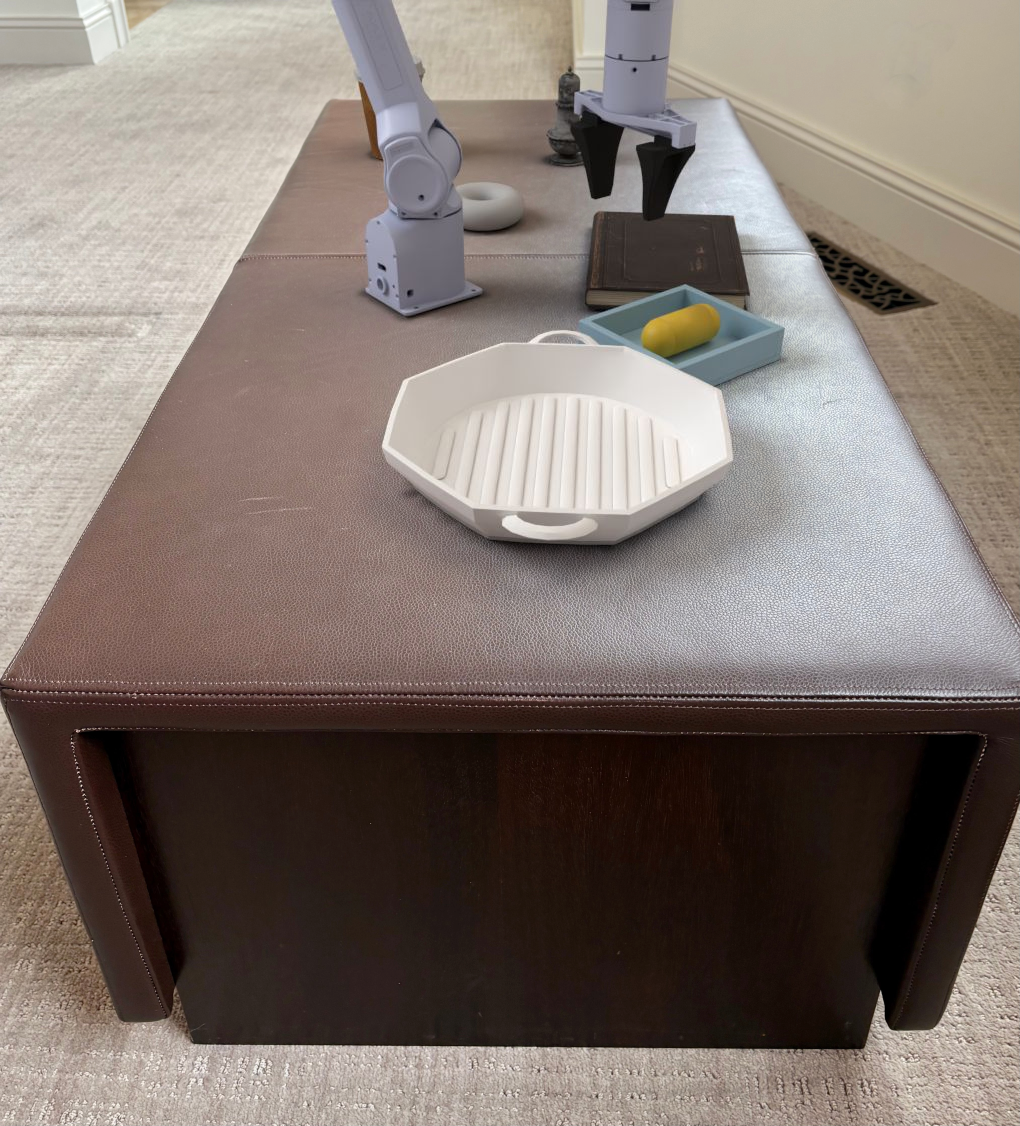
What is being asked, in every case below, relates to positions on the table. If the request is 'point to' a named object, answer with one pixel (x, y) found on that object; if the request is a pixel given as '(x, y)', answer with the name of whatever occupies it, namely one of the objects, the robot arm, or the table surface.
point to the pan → (559, 440)
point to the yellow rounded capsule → (681, 330)
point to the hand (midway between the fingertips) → (626, 207)
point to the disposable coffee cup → (370, 112)
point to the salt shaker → (565, 123)
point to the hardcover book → (663, 258)
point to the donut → (490, 206)
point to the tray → (713, 362)
